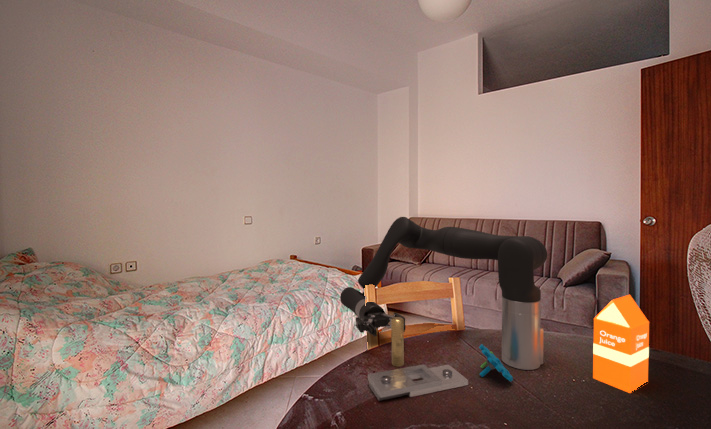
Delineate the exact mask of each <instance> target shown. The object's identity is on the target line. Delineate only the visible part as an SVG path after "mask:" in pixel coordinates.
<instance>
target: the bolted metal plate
mask: <svg viewBox="0 0 711 429" xmlns="http://www.w3.org/2000/svg"><path fill="white" fill-rule="evenodd" d="M419 379H420V380H419ZM367 380H368V387H369V388H370V390H371V392H373V394H374V396H375V397H376V399H377V400H378V402H379V401H384V400H389V399H395V398H398V397H403V396H408V397H409V398H413V397H417V396H422V395H427V394H428V395H429V394H432V393H436V392H440V391H441V392H442V391H446V390H451V389H455V388H461V387H465V386H469V379H467V378H466V376H464V375H462V374H461V373H460V372H459V371H458V370H456V369H455V368H454V367H453V366H451V365H450V364H444V365H439V366H433V367H428V366H427V365H426V364H419V365H413V366H412V365H411V366H407V367H402V368H395V369H389V370H385V371H384V370H383V371H380V372H374V373H373V372H372V373H368V374H367ZM414 380H415V381H414Z"/></svg>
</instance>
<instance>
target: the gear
mask: <svg viewBox="0 0 711 429" xmlns="http://www.w3.org/2000/svg"><path fill="white" fill-rule="evenodd" d="M478 348H479V349H480V350H481V353H482V354H483V355H484V356H485V357H486V358H485V361H484V362H483V363H482V364H481V365H480V368H481V369H483V370H481V371H480V373H479V376H480V377H481V378H483V377H485V376H486V375H487V374H488V373H489V372H490V371H491V370H492V371H493V370H495V369H496V370H497V372H499V373H501V374H502V376H503V377H504V378H505V379H506V380H508V381H509V382H510V383H511V382H513V381H514V377H513V376H512V374H510V371H509V370H508V369H507V368H506V367H505V366H504V364H503V363H502V362H501V359H499V358H498V357H497V356H496V355H495V354H494V352H493V351H490V349H488V347H486V346H485V345H484V344H483V343H481V344H479V347H478Z"/></svg>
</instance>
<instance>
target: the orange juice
mask: <svg viewBox="0 0 711 429" xmlns="http://www.w3.org/2000/svg"><path fill="white" fill-rule="evenodd" d="M649 344H650V321H649V320H648V319H647V317H646V315H645V314H644V313H643V311H642V310H641V308H640V307H639V305H638V304H637V302H636V301H635V299H634V298H633V297H632V295H631V294H626V295H624V296H620V297H618V298H614V299H612V300H611V301H609V303H608V304H607V305H606V306H604V307H603V309H602V310H601V311H600V312H599V313H597V315H596V316H595V317H594V318H593V344H592V346H593V347H592V354H593V357H592V378H593V380H597V381H598V382H601V383H604V384H607V385H608V386H611V387H613V388H616V389H619V390H621V391H623V392H626V393H628V394H632V393H633V392H634V390H635V391H637V390H638V389H639V388H638V387H640V386H641V385H643V384H644V383H646V382H648V383H649V356H650V345H649ZM643 386H644V385H643ZM637 388H638V389H637ZM640 388H641V387H640ZM632 391H633V392H632Z"/></svg>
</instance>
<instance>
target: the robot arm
mask: <svg viewBox="0 0 711 429" xmlns="http://www.w3.org/2000/svg"><path fill="white" fill-rule="evenodd" d="M398 244H400V245H402V246H403V247H405V248H409V249H414V250H415V249H416V250H428V251H432V252H435V253H439V254H442V255H445V256H450V257H454V258H457V259H464V260H465V259H467V260H493V261H497V274H498V276H497V277H498V284H499V288H500V290H501V361H502V362H503V363H505V365H507V366H509V367H512V368H515V369H518V370H525V371H527V370H528V371H531V370H536V369H539V368H540V367H541V365H543V364H544V327H542V325H541V324H542V322H541V321H542V320H541V306H542V305H541V304H542V302H541V300H542V296H541V295H542V292H541V289H540V288H539V286H537V285H535V274H534V273H535V272H534V271H535V270H537V269H538V268H541V267H542V266H543V265H544V264H545V262H546V261H547V260H548V250H547V247H546V246H545V245H544V244H543V243H542V241H540V240H539V239H537V238H536V237H532V236H529V235H528V236H525V235H523V236H522V235H521V236H520V235H518V236H517V235H501V234H494V233H493V234H492V233H488V232H484V231H481V230H475V229H470V228H464V227H456V226H444V227H441V228H439V229H430V228H425V227H423V226H420V225H419V224H417V223H415V222H414V221H413V220H411V218H408V217H406V216H400V217H398V218H396V219H395V220H394V221H393V222H392V223H391V225H390V226H389V228H388V230H387V232H386V234H385V236H383V239H382V240H381V243H380V245H379V247H378V248H377V251H376V252H375V254H374V256H373V258H372V259H371V261H370V262H369V264H368V265H367V267H366V268H364V271H363V272H362V273H361V274H360V276H359V277H358V279H357V284H359V286H360V287H361V288H362V289H363V290H364V288H365V285H369V284H373V285H375V287H376V288H377V286H378V285H379V284H380V282H381V281H382V280H383V279H384V277H385V275H386V273H387V271H388V267H389V261H390V257H391V254H392V252H393V251H394V249H395V248H396V246H397V245H398ZM339 298H340V299H339V300H340V303H341V304H342V305H343V306H344V307H346V308H347V309H349V311H351V312H353V314H354V315H355V316H356V317H355V327H356V329H357V330H358V332H359V333H365V332H366V333H369V334H370V335H371V336H373V337H377V333H378V332H377V330H378V329H379V328H388V329H391V318H393V317H401V318H403V324H404V333H405V332H406V317H404V316H403V315H401V314H400V313H398V312H393V315H392V314H391V315H390V314H387V313H386V311H385V309H384V308H383V307H382V306H380V305H379V304H378V303H376V302H375V301H374V302H367V303H366V306H365V296H364V291H363V292H361V291H359V290H357V289H356V288H354V287H352V286H347V287H345V288H343V289H342V291H341V293H340V297H339Z"/></svg>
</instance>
